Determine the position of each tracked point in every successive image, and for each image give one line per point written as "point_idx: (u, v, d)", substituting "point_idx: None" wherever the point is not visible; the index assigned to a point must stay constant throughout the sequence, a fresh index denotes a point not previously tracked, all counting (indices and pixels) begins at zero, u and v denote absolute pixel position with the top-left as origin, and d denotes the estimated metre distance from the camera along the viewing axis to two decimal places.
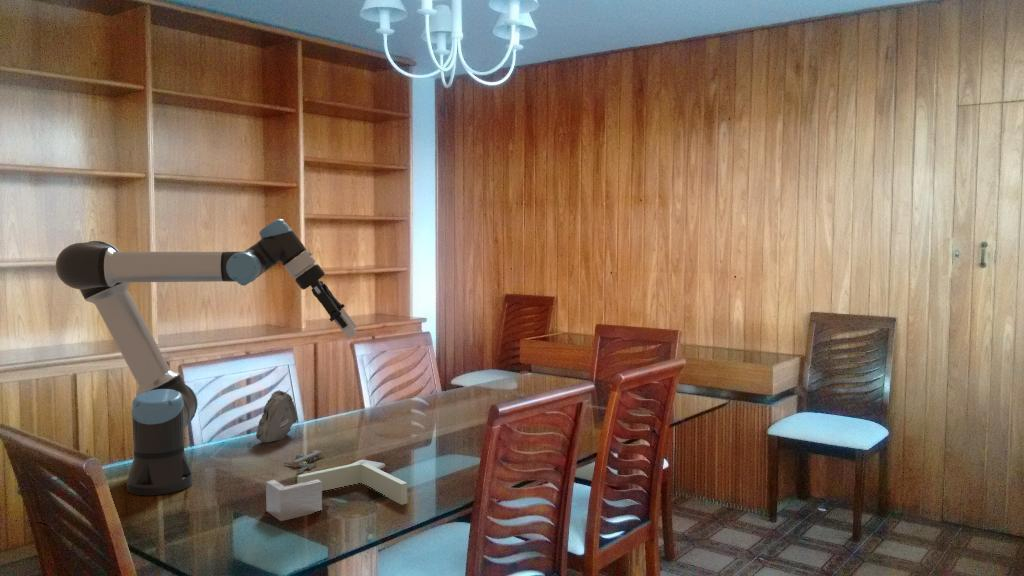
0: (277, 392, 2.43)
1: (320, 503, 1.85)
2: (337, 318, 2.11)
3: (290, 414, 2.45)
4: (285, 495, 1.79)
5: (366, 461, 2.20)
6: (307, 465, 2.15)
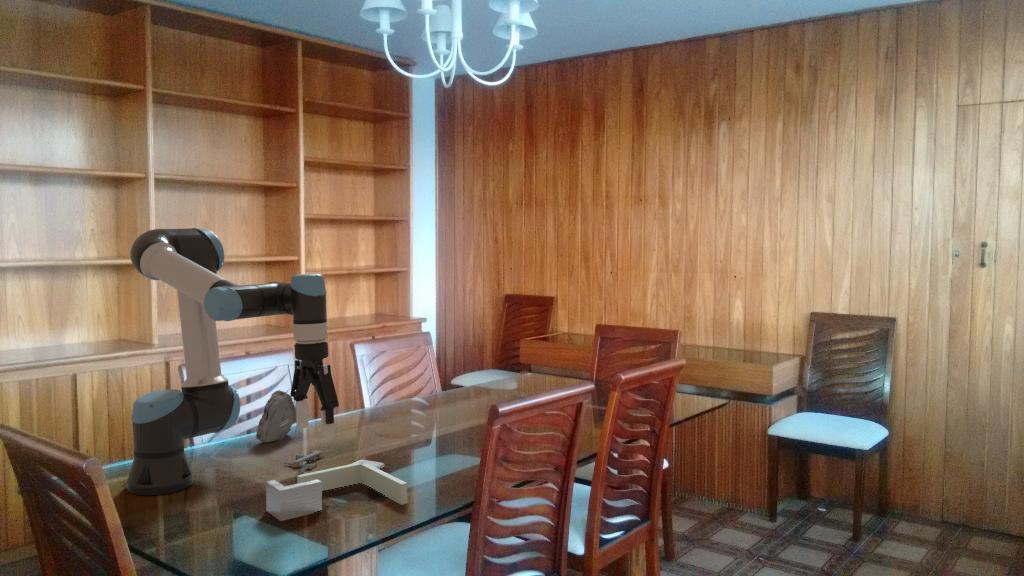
0: (277, 392, 2.43)
1: (320, 503, 1.85)
2: (329, 410, 1.78)
3: (290, 414, 2.45)
4: (285, 495, 1.79)
5: (365, 461, 2.20)
6: (308, 465, 2.15)
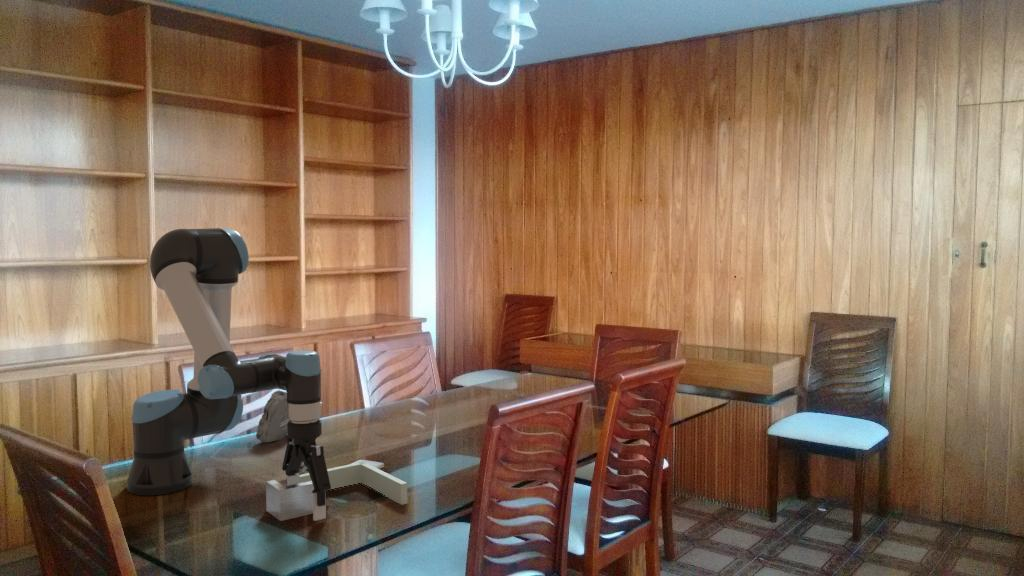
0: (277, 392, 2.43)
1: None
2: (321, 493, 1.77)
3: None
4: (285, 495, 1.79)
5: (365, 461, 2.20)
6: None
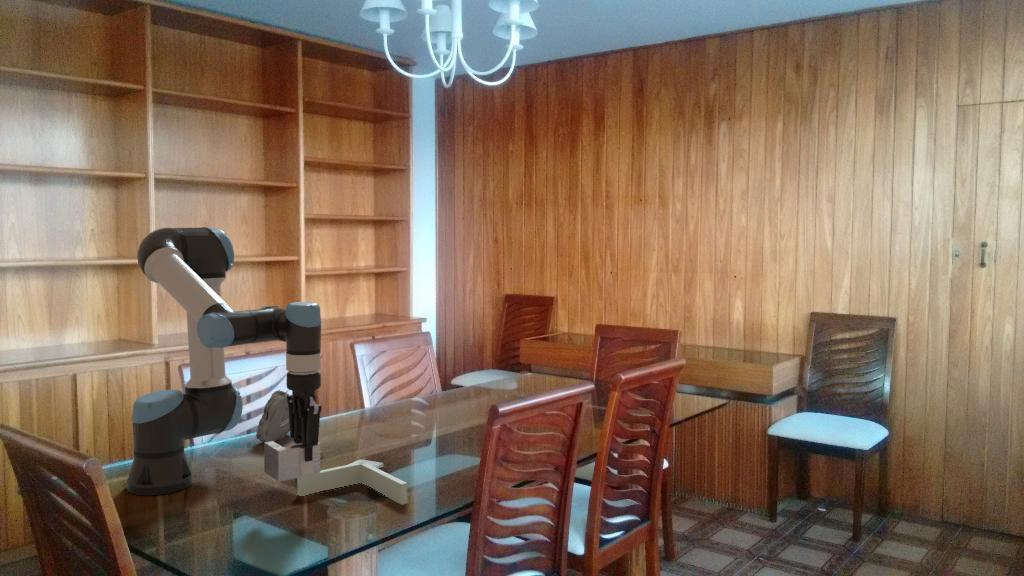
0: (277, 392, 2.43)
1: (318, 465, 1.84)
2: (308, 448, 1.80)
3: None
4: (284, 456, 1.79)
5: (364, 461, 2.20)
6: None
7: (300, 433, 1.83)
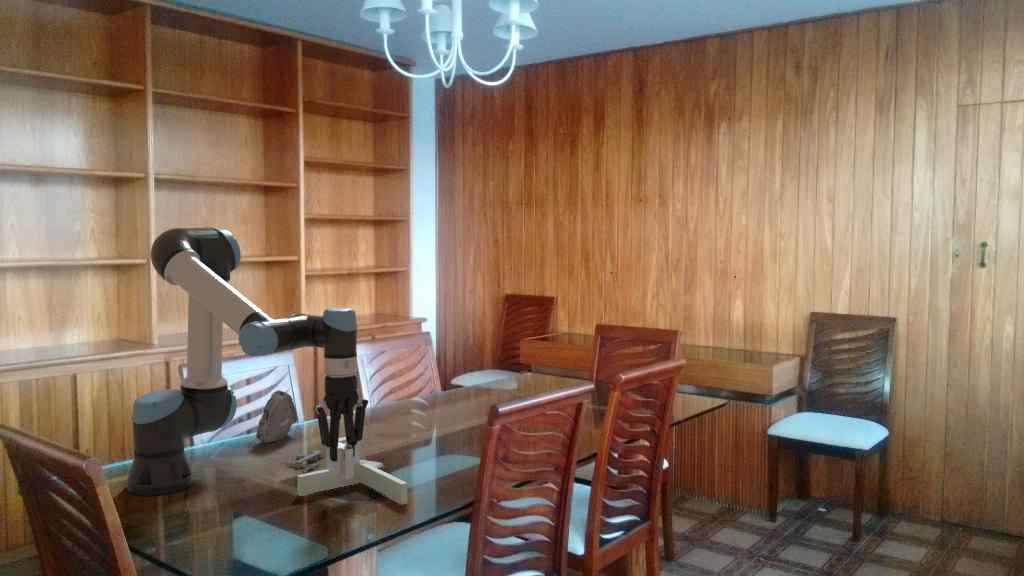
0: (277, 392, 2.43)
1: (344, 471, 1.86)
2: (330, 448, 1.87)
3: (290, 414, 2.45)
4: (328, 447, 1.92)
5: (364, 461, 2.20)
6: (311, 465, 2.15)
7: (347, 435, 1.90)
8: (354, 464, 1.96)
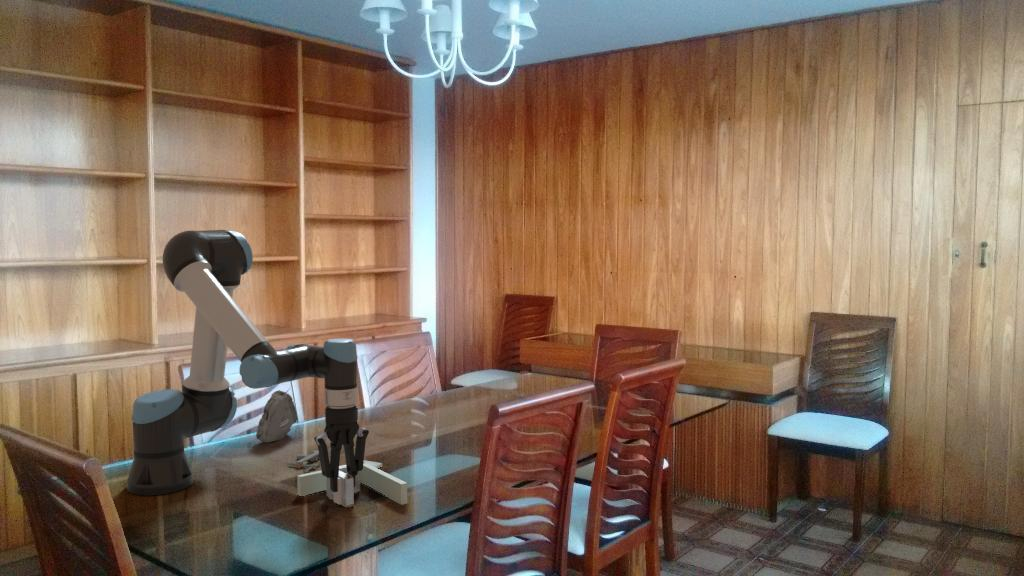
0: (277, 392, 2.43)
1: (345, 500, 1.87)
2: (330, 478, 1.88)
3: (290, 414, 2.45)
4: None
5: None
6: (312, 465, 2.15)
7: (348, 465, 1.90)
8: None
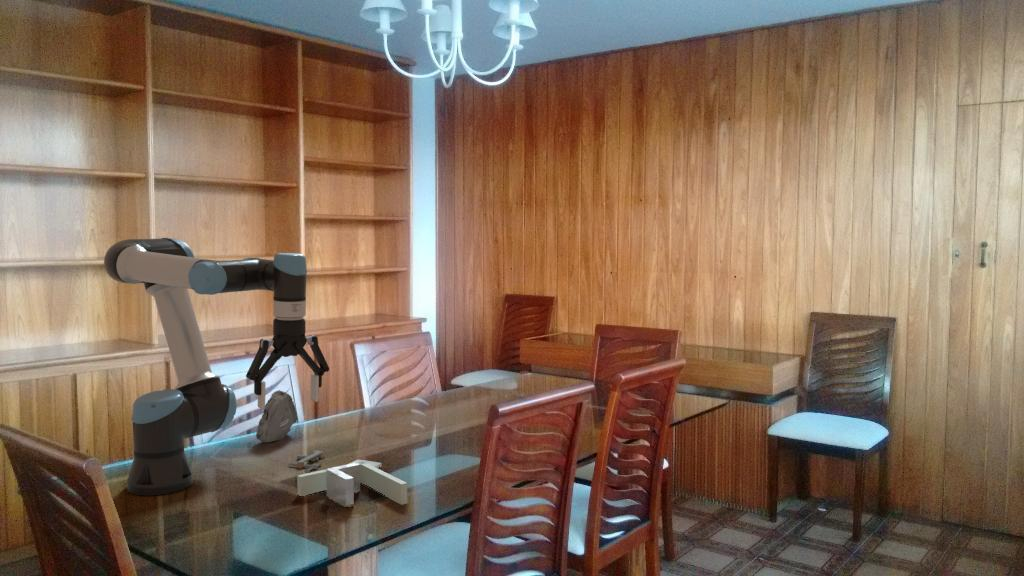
0: (277, 392, 2.43)
1: (345, 500, 1.87)
2: (254, 381, 1.89)
3: (290, 414, 2.45)
4: (328, 475, 1.93)
5: (362, 461, 2.20)
6: (313, 465, 2.15)
7: (312, 368, 1.98)
8: None
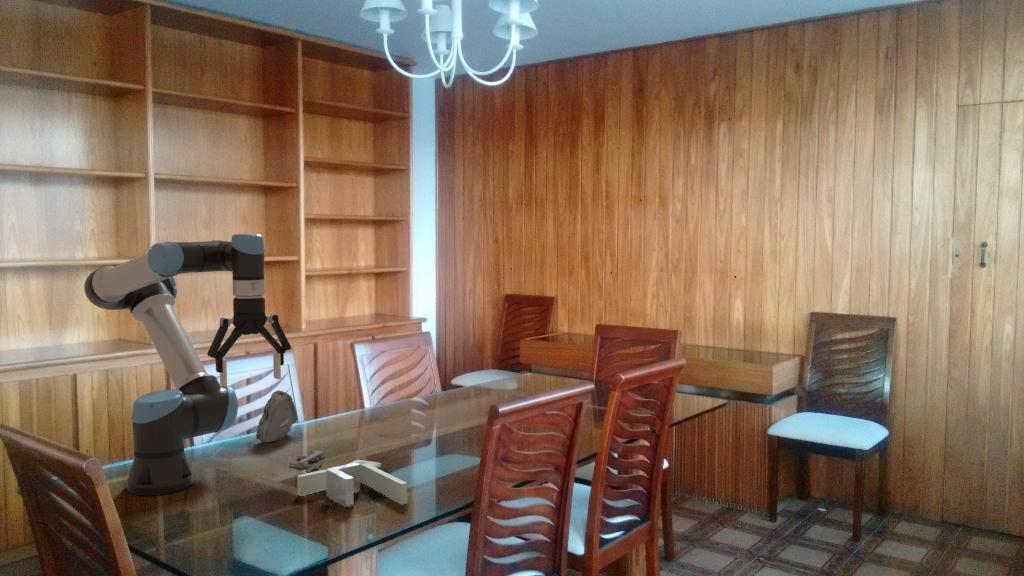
0: (277, 392, 2.43)
1: (345, 500, 1.87)
2: (216, 359, 1.93)
3: (290, 414, 2.45)
4: (328, 475, 1.93)
5: (362, 461, 2.20)
6: (314, 465, 2.16)
7: (274, 347, 2.02)
8: None
